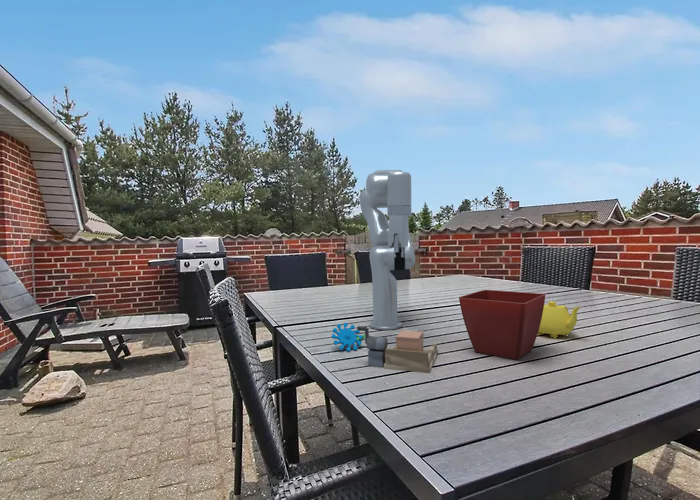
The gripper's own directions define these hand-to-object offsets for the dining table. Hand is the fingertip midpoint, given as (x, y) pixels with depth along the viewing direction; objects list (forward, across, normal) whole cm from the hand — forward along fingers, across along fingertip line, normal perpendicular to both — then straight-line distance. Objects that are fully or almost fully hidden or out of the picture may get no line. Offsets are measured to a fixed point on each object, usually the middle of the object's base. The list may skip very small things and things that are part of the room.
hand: (399, 269), depth 120 cm
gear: (+25, +8, -15) cm, 30 cm away
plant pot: (+24, -1, +31) cm, 39 cm away
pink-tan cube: (+22, +18, +6) cm, 29 cm away
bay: (+24, +14, +2) cm, 28 cm away
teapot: (+25, -25, +49) cm, 60 cm away
